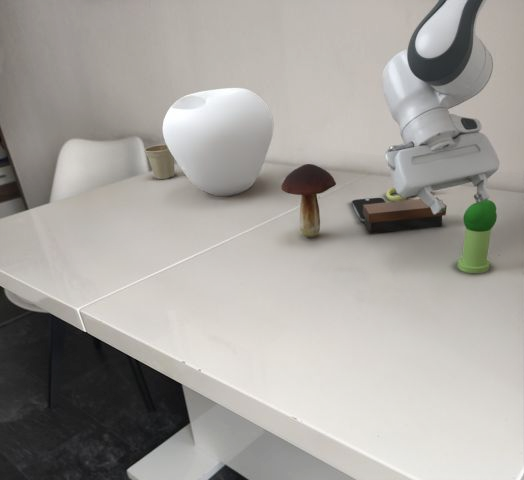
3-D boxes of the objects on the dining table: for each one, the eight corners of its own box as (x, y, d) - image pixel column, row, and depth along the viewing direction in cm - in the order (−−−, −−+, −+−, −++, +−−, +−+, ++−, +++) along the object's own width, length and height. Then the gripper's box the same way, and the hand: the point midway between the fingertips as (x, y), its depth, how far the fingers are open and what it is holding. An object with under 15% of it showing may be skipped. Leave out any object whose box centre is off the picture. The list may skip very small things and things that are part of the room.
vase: (226, 172, 164) (216, 83, 151) (296, 183, 148) (291, 84, 135) (155, 198, 147) (136, 100, 134) (225, 213, 131) (211, 104, 118)
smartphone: (382, 197, 130) (396, 217, 117) (382, 200, 130) (396, 220, 117) (350, 199, 130) (361, 220, 117) (350, 202, 130) (361, 223, 118)
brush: (435, 217, 118) (437, 197, 115) (444, 226, 113) (446, 205, 110) (362, 224, 118) (362, 204, 115) (368, 234, 112) (369, 213, 110)
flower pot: (146, 176, 168) (140, 147, 164) (174, 170, 171) (170, 142, 167) (154, 183, 161) (148, 153, 156) (183, 177, 164) (179, 147, 159)
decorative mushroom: (307, 250, 108) (304, 175, 100) (274, 237, 115) (268, 166, 107) (347, 235, 113) (347, 162, 105) (312, 223, 121) (310, 154, 112)
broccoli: (482, 259, 97) (492, 196, 91) (494, 271, 93) (505, 205, 87) (452, 262, 97) (459, 199, 91) (462, 274, 93) (471, 209, 87)
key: (439, 193, 131) (440, 184, 129) (395, 203, 128) (395, 194, 126) (422, 186, 136) (422, 178, 135) (379, 195, 133) (379, 187, 132)
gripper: (389, 136, 90) (421, 209, 88) (486, 118, 96) (519, 185, 93) (373, 159, 96) (403, 227, 93) (466, 140, 102) (496, 204, 99)
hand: (462, 206), depth 94 cm, fingers open, 8 cm apart
